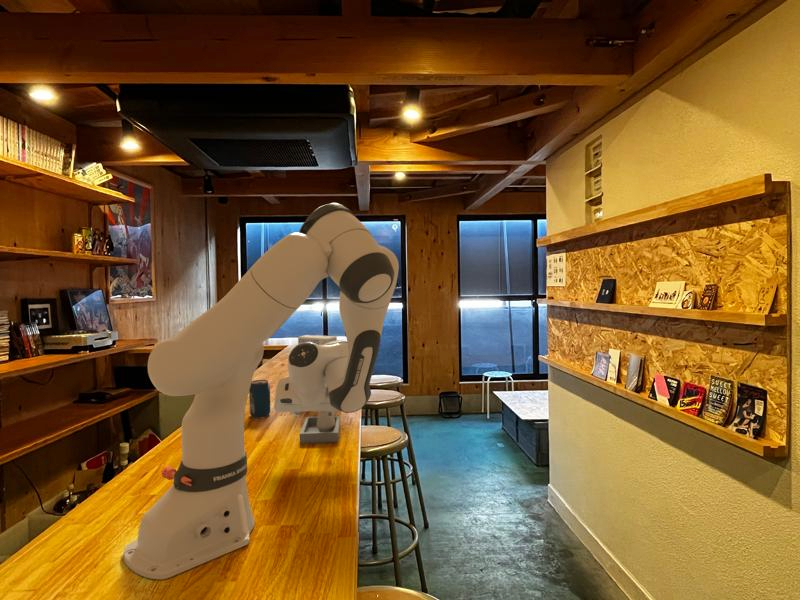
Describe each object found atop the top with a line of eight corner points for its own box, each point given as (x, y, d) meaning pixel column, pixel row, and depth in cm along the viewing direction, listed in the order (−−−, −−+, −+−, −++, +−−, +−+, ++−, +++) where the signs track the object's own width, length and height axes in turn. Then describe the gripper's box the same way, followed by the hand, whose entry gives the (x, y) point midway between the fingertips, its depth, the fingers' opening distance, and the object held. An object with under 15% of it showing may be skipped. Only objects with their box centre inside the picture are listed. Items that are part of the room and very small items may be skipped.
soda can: (273, 412, 164) (272, 379, 164) (265, 418, 157) (265, 384, 157) (254, 412, 165) (254, 379, 164) (246, 418, 158) (245, 383, 157)
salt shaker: (332, 435, 139) (331, 393, 138) (314, 434, 140) (313, 392, 139) (338, 429, 145) (337, 388, 144) (320, 428, 146) (320, 387, 145)
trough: (337, 442, 135) (337, 432, 135) (299, 443, 134) (299, 433, 134) (340, 424, 151) (340, 415, 151) (306, 425, 150) (306, 416, 150)
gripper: (349, 377, 124) (351, 403, 134) (272, 379, 122) (280, 405, 133) (349, 398, 120) (351, 423, 130) (269, 400, 118) (277, 425, 128)
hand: (314, 414), depth 131 cm, fingers open, 8 cm apart
